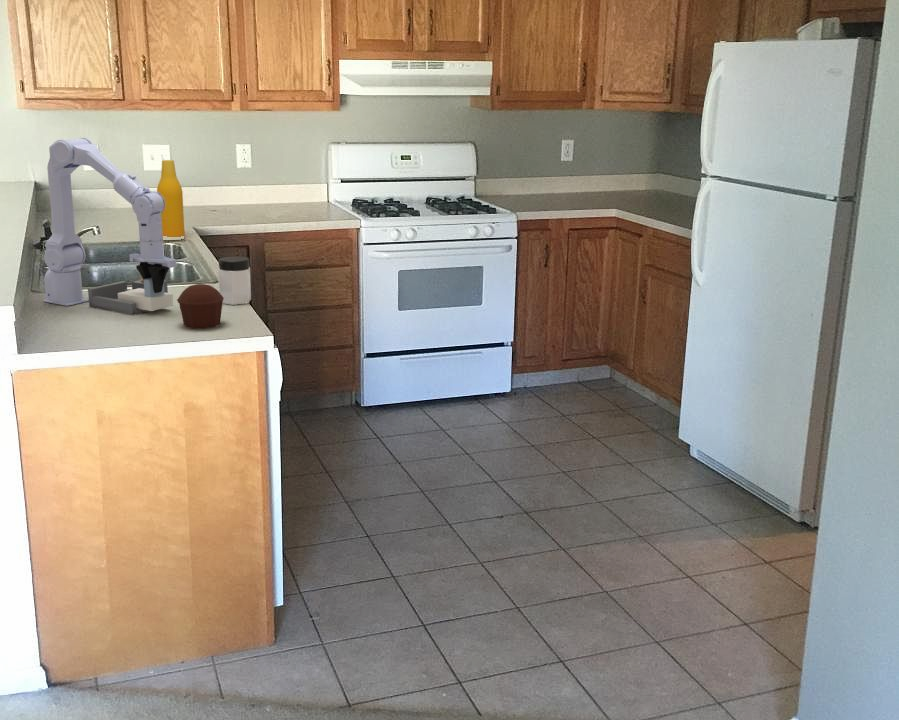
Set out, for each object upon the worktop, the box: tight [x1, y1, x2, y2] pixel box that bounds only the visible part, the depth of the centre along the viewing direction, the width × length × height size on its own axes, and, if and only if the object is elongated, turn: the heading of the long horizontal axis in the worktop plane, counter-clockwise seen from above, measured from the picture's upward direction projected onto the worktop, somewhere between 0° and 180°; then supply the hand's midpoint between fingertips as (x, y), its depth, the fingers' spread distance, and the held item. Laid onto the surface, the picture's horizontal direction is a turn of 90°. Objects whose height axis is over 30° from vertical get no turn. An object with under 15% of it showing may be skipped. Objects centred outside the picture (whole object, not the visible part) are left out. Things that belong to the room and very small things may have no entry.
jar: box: [218, 255, 252, 306], centre depth 267 cm, size 9×8×12 cm
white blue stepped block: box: [118, 278, 174, 312], centre depth 256 cm, size 12×8×8 cm, turn 61°
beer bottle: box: [156, 159, 186, 237], centre depth 361 cm, size 9×9×29 cm
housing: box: [87, 279, 169, 316], centre depth 263 cm, size 16×19×5 cm
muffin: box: [176, 283, 224, 330], centre depth 243 cm, size 12×11×10 cm
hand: (154, 291), depth 254 cm, fingers closed on white blue stepped block, 2 cm apart
